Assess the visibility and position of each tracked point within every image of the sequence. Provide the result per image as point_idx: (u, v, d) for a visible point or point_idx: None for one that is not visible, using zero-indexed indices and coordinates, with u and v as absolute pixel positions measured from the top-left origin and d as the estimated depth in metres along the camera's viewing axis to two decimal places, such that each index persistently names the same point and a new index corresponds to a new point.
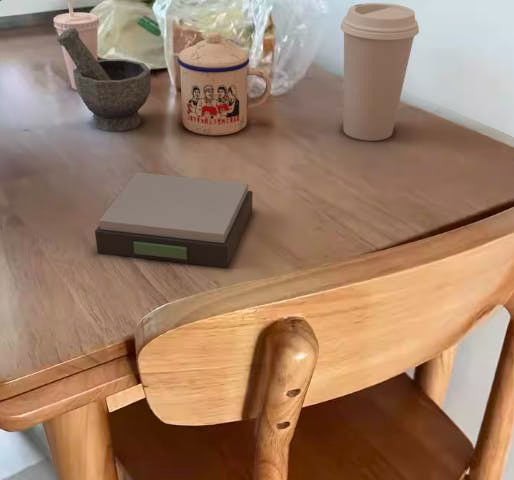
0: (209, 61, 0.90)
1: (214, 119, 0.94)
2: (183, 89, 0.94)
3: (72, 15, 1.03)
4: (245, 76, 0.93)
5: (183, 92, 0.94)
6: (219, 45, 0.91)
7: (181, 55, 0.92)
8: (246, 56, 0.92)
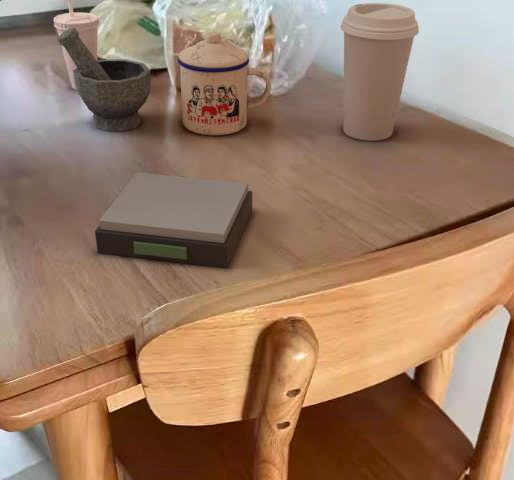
0: (209, 61, 0.90)
1: (214, 119, 0.94)
2: (183, 89, 0.94)
3: (72, 15, 1.03)
4: (245, 76, 0.93)
5: (183, 92, 0.94)
6: (219, 45, 0.91)
7: (181, 55, 0.92)
8: (246, 56, 0.92)
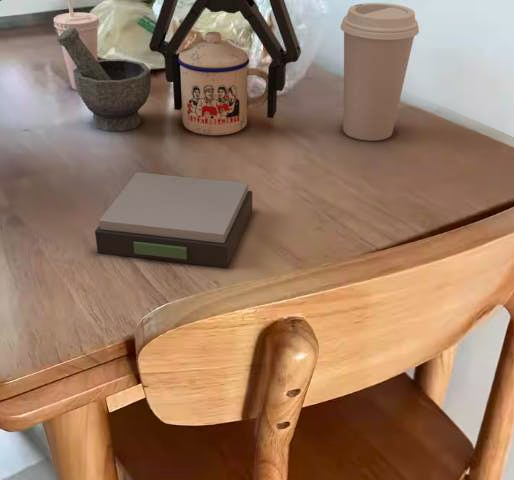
0: (209, 61, 0.90)
1: (214, 119, 0.94)
2: (183, 89, 0.94)
3: (72, 15, 1.03)
4: (246, 76, 0.93)
5: (183, 92, 0.94)
6: (219, 45, 0.91)
7: (181, 55, 0.92)
8: (246, 56, 0.92)
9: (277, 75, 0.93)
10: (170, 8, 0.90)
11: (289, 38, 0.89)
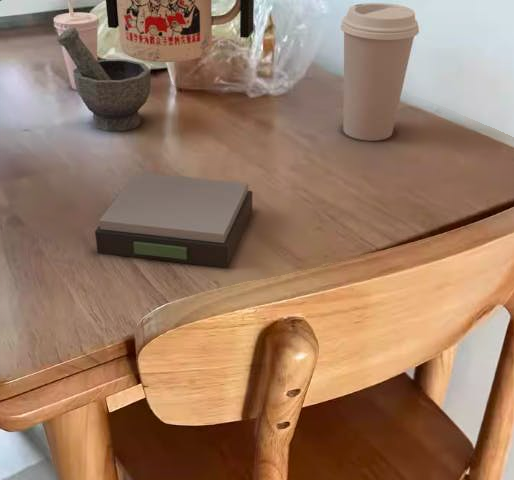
0: None
1: (163, 37, 0.65)
2: None
3: (72, 15, 1.03)
4: None
5: None
6: None
7: None
8: None
9: None
10: None
11: None
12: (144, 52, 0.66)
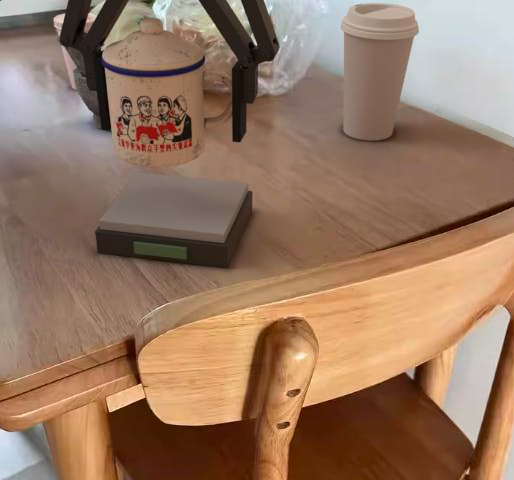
0: (143, 61, 0.61)
1: (155, 145, 0.65)
2: (110, 101, 0.65)
3: None
4: (200, 82, 0.64)
5: (110, 106, 0.65)
6: (160, 37, 0.62)
7: (104, 52, 0.63)
8: (200, 53, 0.63)
9: (245, 81, 0.64)
10: None
11: (261, 26, 0.60)
12: (136, 158, 0.66)
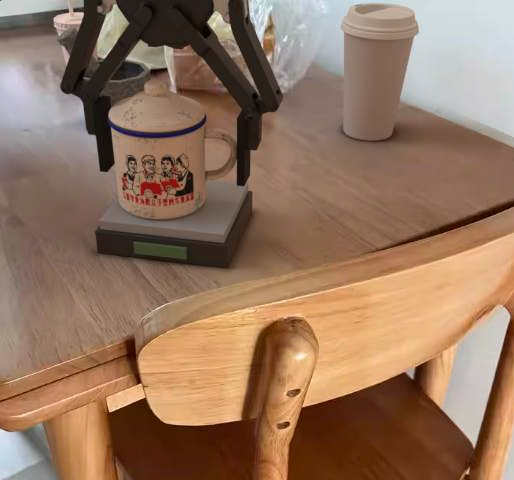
0: (147, 123, 0.64)
1: (158, 199, 0.68)
2: (116, 158, 0.68)
3: (72, 15, 1.03)
4: (201, 140, 0.68)
5: (116, 162, 0.68)
6: (163, 99, 0.65)
7: (111, 113, 0.66)
8: (202, 113, 0.67)
9: (249, 129, 0.66)
10: (89, 38, 0.64)
11: (264, 80, 0.63)
12: (140, 211, 0.69)
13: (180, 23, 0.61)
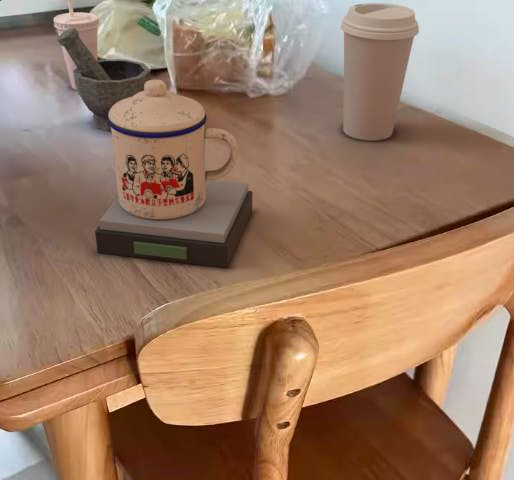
0: (147, 123, 0.64)
1: (158, 199, 0.68)
2: (116, 158, 0.68)
3: (72, 15, 1.03)
4: (201, 140, 0.68)
5: (116, 162, 0.68)
6: (163, 99, 0.65)
7: (111, 113, 0.66)
8: (202, 113, 0.67)
9: None
10: None
11: None
12: (140, 211, 0.69)
13: None
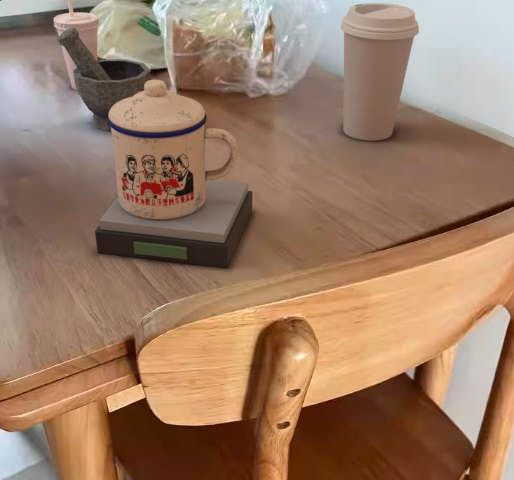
0: (147, 123, 0.64)
1: (158, 199, 0.68)
2: (116, 158, 0.68)
3: (72, 15, 1.03)
4: (201, 140, 0.68)
5: (116, 162, 0.68)
6: (163, 99, 0.65)
7: (111, 113, 0.66)
8: (202, 113, 0.67)
9: None
10: None
11: None
12: (140, 211, 0.69)
13: None
